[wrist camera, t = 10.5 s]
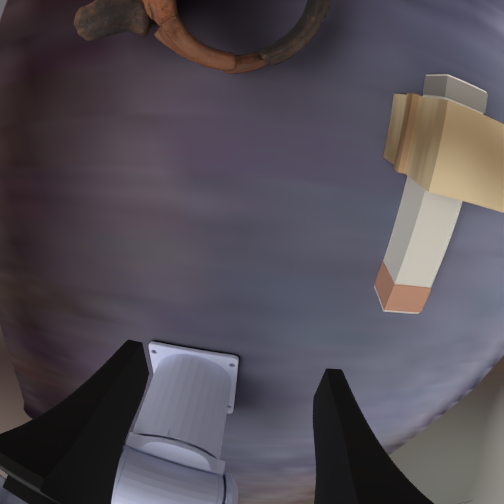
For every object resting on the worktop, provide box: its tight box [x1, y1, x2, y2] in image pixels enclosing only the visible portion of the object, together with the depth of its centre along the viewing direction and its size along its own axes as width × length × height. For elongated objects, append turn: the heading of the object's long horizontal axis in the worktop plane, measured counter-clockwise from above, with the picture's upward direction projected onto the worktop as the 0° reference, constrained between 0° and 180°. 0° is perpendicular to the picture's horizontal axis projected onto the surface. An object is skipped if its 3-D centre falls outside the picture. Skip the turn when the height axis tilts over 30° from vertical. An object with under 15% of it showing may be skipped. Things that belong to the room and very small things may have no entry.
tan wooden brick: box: [383, 93, 504, 213], centre depth 13 cm, size 4×7×6 cm, turn 85°
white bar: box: [374, 74, 488, 314], centre depth 16 cm, size 15×3×3 cm, turn 175°
